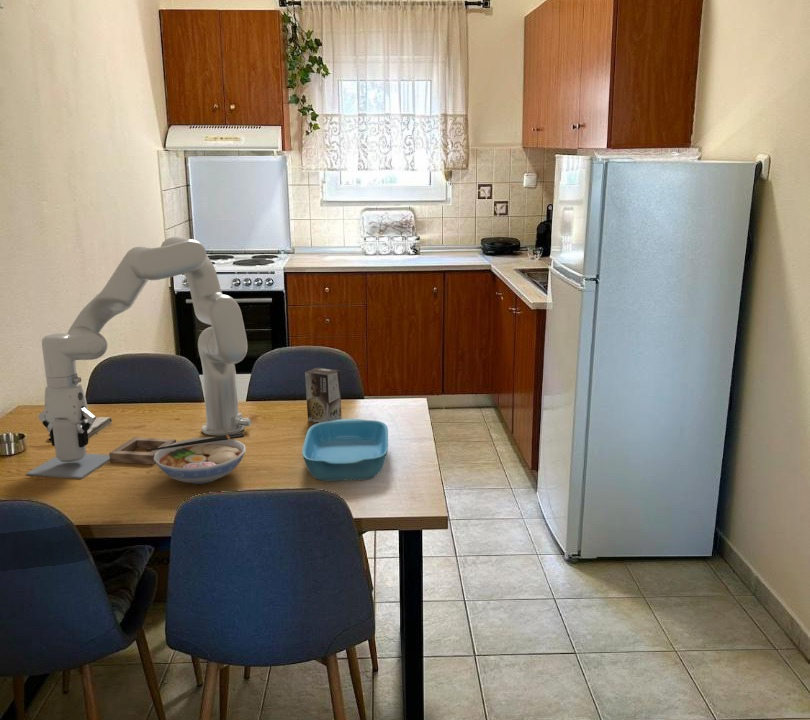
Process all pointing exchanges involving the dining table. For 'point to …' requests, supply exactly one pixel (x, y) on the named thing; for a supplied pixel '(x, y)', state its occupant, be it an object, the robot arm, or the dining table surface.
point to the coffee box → (323, 395)
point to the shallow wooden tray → (128, 456)
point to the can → (67, 441)
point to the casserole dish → (346, 449)
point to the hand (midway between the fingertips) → (70, 444)
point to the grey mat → (70, 467)
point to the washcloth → (97, 425)
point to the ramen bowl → (200, 458)
